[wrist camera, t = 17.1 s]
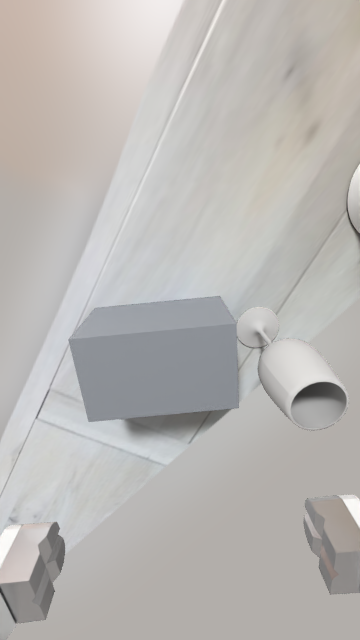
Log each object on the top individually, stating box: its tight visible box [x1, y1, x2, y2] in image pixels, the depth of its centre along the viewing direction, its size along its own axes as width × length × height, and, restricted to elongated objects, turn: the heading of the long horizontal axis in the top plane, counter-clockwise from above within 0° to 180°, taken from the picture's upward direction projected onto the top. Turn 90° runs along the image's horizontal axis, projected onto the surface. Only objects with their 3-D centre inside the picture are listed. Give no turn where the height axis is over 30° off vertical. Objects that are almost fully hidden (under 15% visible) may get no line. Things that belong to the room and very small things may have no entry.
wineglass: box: [237, 307, 349, 430], centre depth 37 cm, size 8×8×21 cm
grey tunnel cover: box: [68, 296, 239, 422], centre depth 41 cm, size 20×12×12 cm, turn 95°
